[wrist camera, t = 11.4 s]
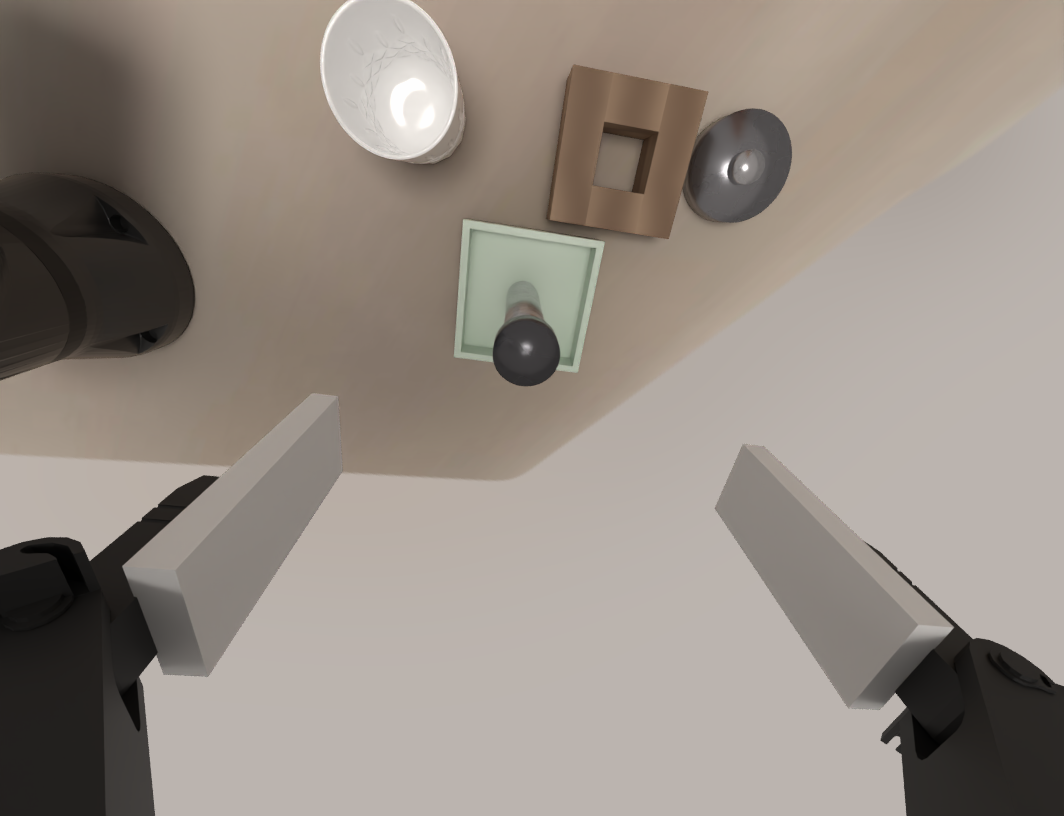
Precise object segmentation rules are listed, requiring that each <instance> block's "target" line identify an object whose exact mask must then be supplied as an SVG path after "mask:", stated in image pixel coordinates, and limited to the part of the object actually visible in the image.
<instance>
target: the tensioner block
mask: <svg viewBox="0 0 1064 816" xmlns="http://www.w3.org/2000/svg"><path fill="white" fill-rule="evenodd" d="M707 95H708V92H707V91H703V90H698V89H693V88H688V87H683V86H678V85H673V84H668V83H663V82H658V81H653V80H648V79H643V78H638V77H633V76H628V75H623V74H618V73H613V72H608V71H603V70H598V69H593V68H588V67H583V66H578V65H573V67H572V69H571V72H570V74H569V77H568V79H567V83H566V90H565V96H564V103H563V110H562V117H561V124H560V130H559V137H558V144H557V151H556V157H555V164H554V171H553V178H552V185H551V191H550V198H549V205H548V212H547V218H546V219H549V220H553V221H559V222H566V223H572V224H578V225H584V226H590V227H596V228H603V229H609V230H615V231H621V232H627V233H633V234H640V235H646V236H652V237H658V238H664V239H669V236H670V232H671V228H672V224H673V221H674V217H675V213H676V210H677V206H678V202H679V199H680V195H681V191H682V188H683V184H684V180H685V176H686V173H687V169H688V165H689V162H690V158H691V154H692V151H693V147H694V143H695V139H696V136H697V132H698V128H699V125H700V121H701V117H702V114H703V110H704V106H705V103H706V99H707ZM602 132H604V133H610V134H615V135H620V136H626V137H631V138H637V139H642V140H644V141H643V145H642V150H641V154H640V159H639V163H638V168H637V172H636V177H635V181H634V185H633V190H632V192H627V191H622V190H616V189H610V188H604V187H598V186H592V185H593V180H594V175H595V169H596V164H597V159H598V153H599V148H600V142H601V137H602Z"/></svg>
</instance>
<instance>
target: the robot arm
mask: <svg viewBox="0 0 1064 816" xmlns="http://www.w3.org/2000/svg"><path fill="white" fill-rule="evenodd" d="M193 304H194V293H193V285H192V280H191V276H190V273H189V270H188V268H187V265H186V263H185V261H184V258H183V256H182V254H181V253H180V251H179V249H178V247H177V246H176V244H175V243H174V241H173V240H172V238H171V237H170V236H169V234H168V233H167V232H166V231H165V229H164V228H163V227H162V226H161V225H160V224H159V223H158V222H157V221H156V220H155V219H154V218H153V217H152V216H151V215H150V214H149V213H148V212H147V211H146V210H145V209H143V208H142V207H141V206H140V205H138V204H137V203H136V202H134V201H133V200H131V199H130V198H129V197H127V196H125V195H124V194H122V193H120V192H119V191H117V190H115V189H113V188H111V187H109V186H107V185H104V184H102V183H100V182H97V181H94V180H91V179H87V178H84V177H79V176H74V175H64V174H50V173H25V174H18V175H13V176H9V177H6V178H3V179H0V381H1V380H3V379H6V378H9V377H12V376H15V375H18V374H21V373H23V372H26V371H29V370H32V369H35V368H38V367H41V366H43V365H46V364H49V363H52V362H55V361H58V360H62V359H93V358H124V357H132V356H137V355H141V354H144V353H147V352H150V351H152V350H155V349H158V348H160V347H163V346H165V345H167V344H169V343H171V342H172V341H174V340H175V339H176V338H178V337H179V336H180V335H181V334H182V332H183V331H184V330H185V328H186V327H187V325H188V323H189V321H190V318H191V315H192V311H193ZM342 471H343V469H342V452H341V434H340V417H339V400H338V396H333V395H325V394H316V393H311V394H310V395H309V396H308V397H307V398H306V399H305V400H304V401H303V402H302V403H300V404H299V405H298V406H297V407H296V408H295V409H294V410H293V411H292V412H291V413H290V414H288V415H287V416H286V417H285V418H284V419H283V420H282V421H281V422H280V423H279V424H277V425H276V426H275V427H274V428H273V429H272V430H271V431H270V432H269V433H268V434H267V435H265V436H264V437H263V438H262V439H261V440H260V441H259V442H258V443H257V444H256V445H254V446H253V447H252V448H251V449H250V450H249V451H248V452H247V453H246V454H245V455H243V456H242V457H241V458H240V459H239V460H238V461H237V462H236V463H235V464H234V465H233V466H231V467H230V468H229V469H228V470H227V471H226V472H225V473H224V474H223V475H222V476H220V477H216V476H205V475H204V476H201V477H199V478H197V479H195V480H193V481H191V482H189V483H187V484H185V485H183V486H181V487H179V488H177V489H176V490H175V491H174V492H172V493H171V494H170V495H169V496H168V497H166V498H165V499H164V500H163V501H162V502H160V504H158V507H157V508H153V509H152V510H151V511H150V512H148V513H147V514H146V515H145V516H144V517H142V520H141V522H136V523H135V524H134V525H133V526H132V527H130V528H129V529H128V530H127V531H126V532H125V533H124V534H122V535H121V536H120V537H118V538H117V539H116V540H115V541H114V542H112V543H111V544H110V545H109V546H108V547H106V548H105V549H104V550H103V551H102V552H100V553H99V554H98V555H97V556H95V557H94V558H93V559H92V560H91V561H89V559H88V557H87V555H86V552H85V550H84V548H83V546H82V544H81V543H80V542H79V541H76V540H73V539H70V538H67V537H65V538H63V537H62V538H61V537H59V538H57V537H56V538H55V537H48V538H42V539H36V540H31V541H26V542H21V543H18V544H15V545H12V546H10V547H7V548H4V549H1V550H0V816H155V811H154V800H153V789H152V778H151V768H150V757H149V747H148V737H147V736H148V735H147V725H146V714H145V703H144V693H143V685H142V683H141V680H140V678H139V676H140V674H141V673H142V672H143V671H144V669H145V668H146V667H147V666H148V664H149V663H150V662H151V661H152V659H153V658H154V657H155V656H156V655H157V658H158V661H159V663H160V666H161V668H162V671H163V673H164V675H185V676H205V677H208V676H209V675H210V673H211V672H212V670H213V669H214V667H215V665H216V664H217V662H218V661H219V659H220V658H221V656H222V655H223V653H224V652H225V650H226V649H227V647H228V646H229V644H230V643H231V641H232V639H233V638H234V636H235V635H236V633H237V632H238V630H239V629H240V627H241V626H242V624H243V623H244V621H245V619H246V618H247V616H248V615H249V613H250V612H251V610H252V609H253V607H254V606H255V604H256V603H257V601H258V600H259V598H260V596H261V595H262V594H263V592H264V590H265V589H266V587H267V586H268V584H269V583H270V581H271V580H272V578H273V577H274V575H275V574H276V572H277V571H278V569H279V567H280V566H281V564H282V563H283V561H284V560H285V558H286V557H287V555H288V554H289V552H290V551H291V549H292V548H293V546H294V545H295V543H296V542H297V540H298V538H299V537H300V535H301V534H302V532H303V531H304V529H305V528H306V526H307V525H308V523H309V521H310V520H311V519H312V517H313V516H314V514H315V512H316V511H317V509H318V508H319V506H320V505H321V503H322V502H323V500H324V499H325V497H326V496H327V494H328V492H329V491H330V489H331V488H332V486H333V485H334V483H335V482H336V480H337V479H338V477H339V476H340V474H341V473H342ZM715 509H716V511H717V512H718V514H719V515H720V517H721V518H722V520H723V521H724V523H725V524H726V526H727V527H728V529H729V530H730V532H731V533H732V535H733V536H734V538H735V539H736V541H737V542H738V544H739V545H740V547H741V548H742V550H743V551H744V553H745V554H746V556H747V557H748V559H749V560H750V562H751V563H752V565H753V566H754V568H755V569H756V571H757V572H758V574H759V575H760V577H761V578H762V580H763V581H764V583H765V584H766V586H767V587H768V589H769V590H770V592H771V593H772V595H773V596H774V598H775V599H776V601H777V602H778V604H779V605H780V607H781V608H782V610H783V611H784V613H785V614H786V616H787V617H788V619H789V620H790V622H791V623H792V624H793V626H794V628H795V629H796V631H797V632H798V634H799V635H800V637H801V638H802V640H803V641H804V643H805V644H806V646H807V647H808V649H809V650H810V652H811V653H812V655H813V656H814V658H815V659H816V661H817V662H818V664H819V665H820V667H821V668H822V669H823V671H824V673H825V674H826V676H827V677H828V679H829V680H830V682H831V683H832V685H833V686H834V688H835V689H836V690H837V692H838V694H839V695H840V696H841V698H842V700H843V701H844V703H845V704H846V706H847V707H848V708H852V709H873V710H880V709H881V708H882V707H883V706H884V705H885V704H886V703H887V701H888V700H889V699H890V698H891V697H892V696H893V695H894V693H896V694H897V695H898V696H899V698H900V699H901V700H902V701H903V703H904V704H905V705H906V706H907V708H906V709H905V710H904V711H903V712H902V713H901V714H900V715H899V716H898V717H897V718H896V719H895V720H894V721H893V722H892V724H891V725H890V726H889V727H888V728H887V729H886V730H885V731H884V732H883V733H882V737H881V741H882V742H884V743H885V744H887V743H888V742H889V741H890V740H891V739H892V738H893V737H894V736H899V737H900V739H901V744H900V745H899V746H898V747H897V748H896V751H898V752H899V753H901V754H902V764H903V777H904V789H905V803H906V815H907V816H1064V686H1061V685H1058V684H1055V683H1054V682H1053V681H1052V680H1051V679H1050V678H1049V677H1048V676H1047V675H1046V674H1045V673H1044V672H1043V671H1042V670H1040V669H1039V668H1038V667H1036V666H1035V665H1034V664H1032V663H1031V662H1030V661H1028V660H1027V659H1026V658H1024V657H1023V656H1021V655H1019V654H1018V653H1016V652H1014V651H1012V650H1010V649H1009V648H1007V647H1005V646H1003V645H1000V644H998V643H995V642H993V641H990V640H986V639H980V638H976V639H972V638H971V637H970V636H969V635H968V634H967V633H966V632H965V631H964V630H963V629H961V628H960V627H959V626H958V625H957V624H956V623H955V622H954V621H953V620H952V619H951V618H950V617H949V616H948V615H946V613H944V612H943V611H942V610H941V609H940V608H939V607H938V606H937V605H935V603H934V602H933V601H932V600H931V599H929V597H927V596H926V595H925V594H924V593H923V592H922V591H921V590H920V589H919V588H918V587H917V586H914V585H912V582H911V581H910V580H909V579H908V578H907V577H906V576H905V575H904V574H903V573H902V572H899V571H897V567H896V566H894V565H893V564H892V563H891V562H890V561H889V560H888V559H887V558H886V557H885V556H884V555H883V554H882V553H881V552H879V551H878V550H876V549H875V548H873V547H872V546H871V545H869V544H868V543H866V542H864V541H863V540H862V539H861V538H860V537H859V536H858V535H857V534H856V533H854V532H853V531H852V530H851V529H850V528H849V527H848V526H847V525H846V524H845V523H844V522H843V521H842V520H840V518H839V517H838V516H837V515H836V514H834V513H833V512H832V511H831V510H830V509H829V508H828V507H827V506H826V505H825V504H824V503H823V502H822V501H821V500H820V499H819V498H818V497H816V495H814V494H813V493H812V492H811V491H810V490H809V489H808V488H807V487H806V486H805V485H804V484H803V483H802V482H801V481H800V480H799V479H798V478H797V477H796V476H795V475H794V474H792V472H790V471H789V470H788V469H787V468H786V467H785V466H784V465H783V464H782V463H781V462H780V461H779V460H778V459H777V458H776V457H775V456H774V455H772V453H770V452H769V451H768V450H767V449H766V448H765V447H764V446H756V445H748V444H743V445H742V447H741V450H740V452H739V454H738V457H737V459H736V461H735V463H734V466H733V468H732V470H731V472H730V475H729V477H728V479H727V482H726V484H725V486H724V489H723V491H722V493H721V495H720V498H719V500H718V502H717V505H716V507H715Z"/></svg>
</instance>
